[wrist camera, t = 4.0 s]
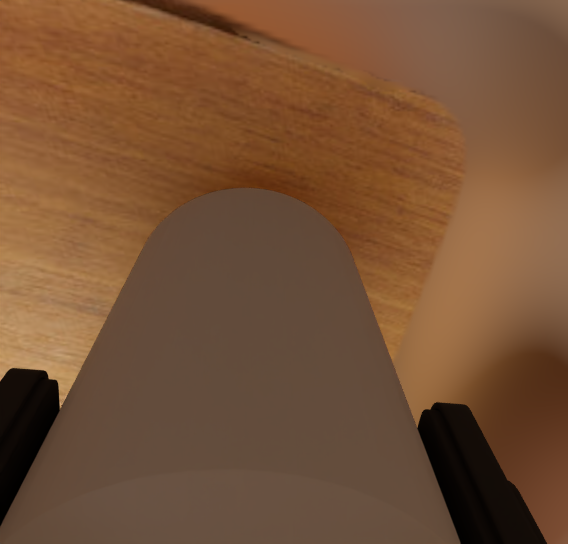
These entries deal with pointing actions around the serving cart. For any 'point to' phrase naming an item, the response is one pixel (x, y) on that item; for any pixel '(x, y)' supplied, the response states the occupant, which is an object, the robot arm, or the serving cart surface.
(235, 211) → the beverage can
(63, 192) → the serving cart surface
